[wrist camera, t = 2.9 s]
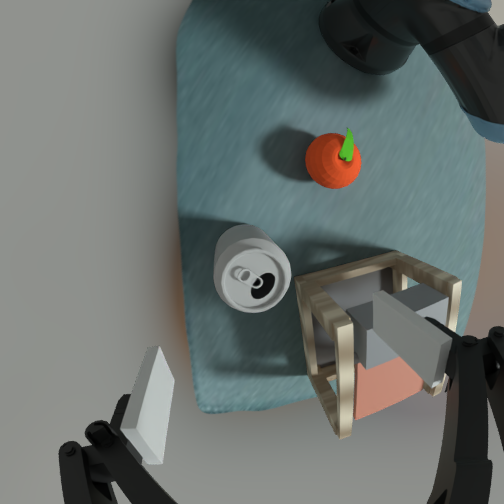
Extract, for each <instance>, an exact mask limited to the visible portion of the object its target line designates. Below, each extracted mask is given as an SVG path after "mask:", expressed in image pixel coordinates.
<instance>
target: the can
mask: <svg viewBox="0 0 504 504" xmlns="http://www.w3.org/2000/svg"><path fill="white" fill-rule="evenodd" d="M213 278H214V283H215V288H216V291H217V292H218V294H219V296H220V297H221V299H222V300H223V301H224V302H225V303H227V304H228V305H229V306H230V307H232V308H235V309H237V310H239V311H243V312H250V313H257V312H262V311H266V310H268V309H270V308H272V307H274V306H275V305H276V304H277V303H278V302H279V301H280V300H281V299H282V297H283V296H284V295H285V293H286V291H287V289H288V287H289V284H290V279H291V269H290V263H289V261H288V259H287V257H286V255H285V253H284V252H283V251H282V250H281V249H280V248H279V247H278V246H277V245H276V244H275V243H274V242H273V241H272V240H271V239H270V237H269V236H268V235H267V234H266V233H265V232H264V231H263V230H261V229H259V228H257V227H255V226H253V225H247V224H242V225H236V226H233V227H232V228H230V229H228V230H226V231H225V232H224V233H223V234H222V235H221V236H220V238H219V240H218V242H217V244H216V248H215V256H214V276H213Z"/></svg>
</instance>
